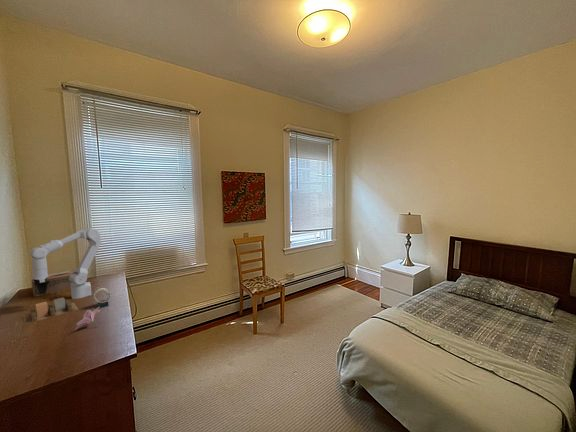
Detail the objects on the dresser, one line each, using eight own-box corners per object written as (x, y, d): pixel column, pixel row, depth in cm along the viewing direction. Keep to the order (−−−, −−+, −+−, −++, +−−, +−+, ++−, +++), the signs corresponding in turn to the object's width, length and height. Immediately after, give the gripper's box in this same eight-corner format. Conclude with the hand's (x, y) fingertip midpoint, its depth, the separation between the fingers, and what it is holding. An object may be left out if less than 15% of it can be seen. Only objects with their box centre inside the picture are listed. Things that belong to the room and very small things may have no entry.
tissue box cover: (82, 281, 180) (81, 268, 179) (86, 285, 171) (85, 272, 170) (32, 291, 160) (31, 277, 160) (34, 297, 151) (32, 282, 150)
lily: (106, 320, 124) (95, 305, 123) (112, 318, 117) (101, 302, 116) (79, 338, 114) (67, 322, 113) (84, 337, 107) (71, 319, 106)
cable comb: (73, 304, 140) (73, 297, 140) (78, 311, 132) (78, 304, 131) (23, 317, 125) (22, 310, 125) (25, 326, 116) (24, 318, 116)
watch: (112, 306, 137) (111, 288, 136) (94, 311, 131) (93, 291, 130) (111, 303, 141) (110, 285, 140) (94, 307, 135) (92, 289, 135)
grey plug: (64, 307, 134) (63, 297, 133) (65, 309, 131) (64, 299, 131) (54, 310, 131) (53, 299, 130) (55, 312, 128) (54, 301, 128)
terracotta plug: (47, 312, 128) (46, 301, 128) (48, 314, 126) (47, 303, 125) (36, 315, 125) (35, 304, 125) (37, 317, 123) (36, 306, 122)
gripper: (28, 267, 135) (30, 291, 136) (30, 272, 126) (32, 297, 127) (46, 265, 141) (48, 287, 142) (49, 269, 132) (51, 293, 133)
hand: (42, 292), depth 135 cm, fingers open, 7 cm apart
